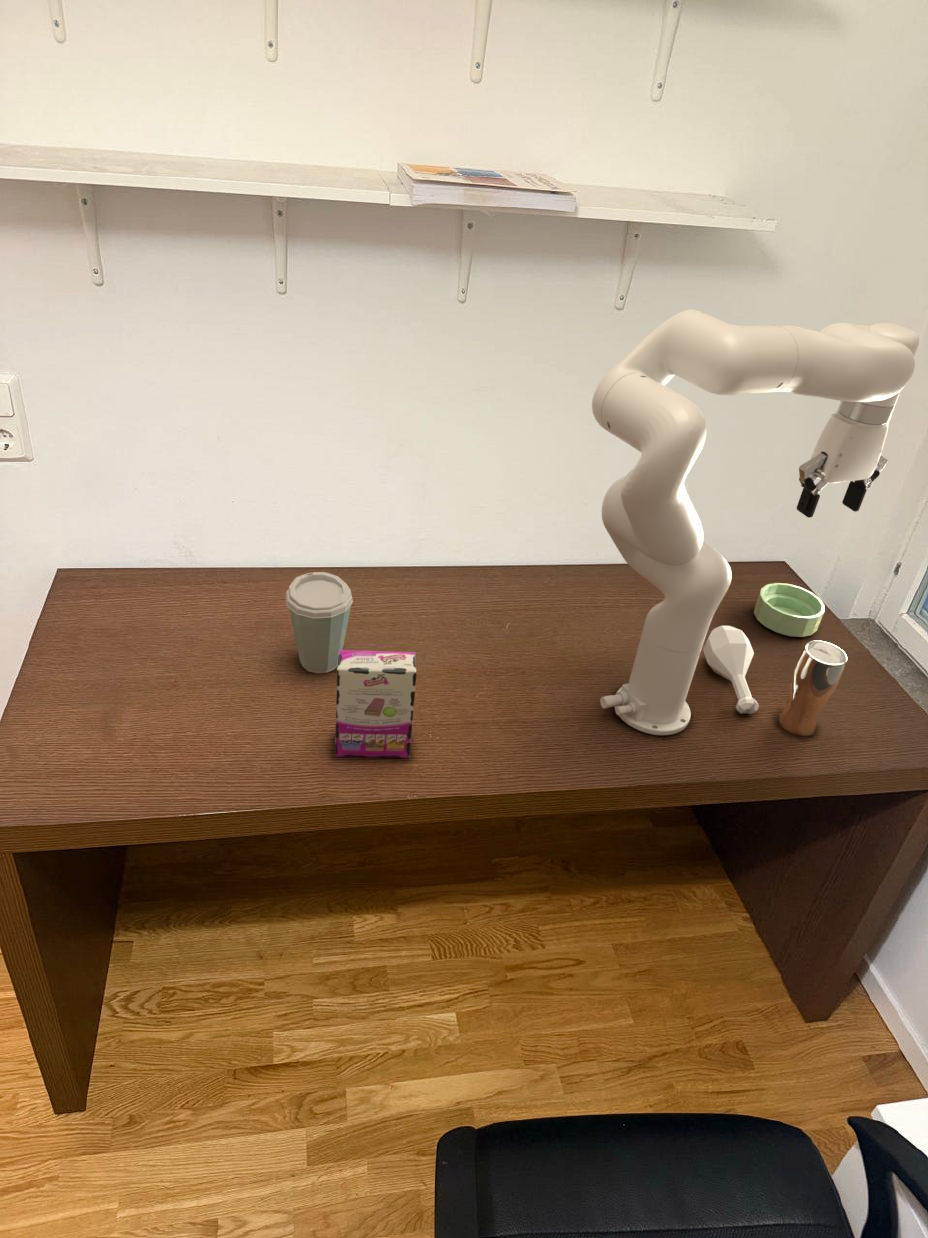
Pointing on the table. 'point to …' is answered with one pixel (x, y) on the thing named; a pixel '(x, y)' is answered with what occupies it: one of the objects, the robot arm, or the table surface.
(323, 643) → the disposable coffee cup
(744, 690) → the chicken leg
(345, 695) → the candy bar box
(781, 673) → the table surface
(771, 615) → the sage bowl
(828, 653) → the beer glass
